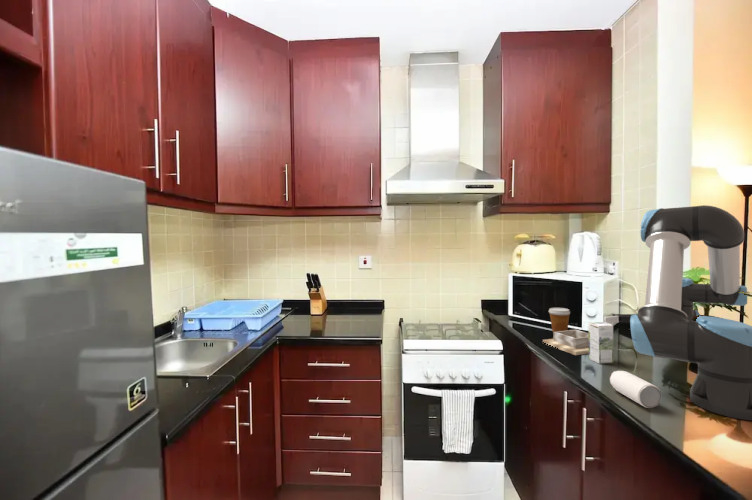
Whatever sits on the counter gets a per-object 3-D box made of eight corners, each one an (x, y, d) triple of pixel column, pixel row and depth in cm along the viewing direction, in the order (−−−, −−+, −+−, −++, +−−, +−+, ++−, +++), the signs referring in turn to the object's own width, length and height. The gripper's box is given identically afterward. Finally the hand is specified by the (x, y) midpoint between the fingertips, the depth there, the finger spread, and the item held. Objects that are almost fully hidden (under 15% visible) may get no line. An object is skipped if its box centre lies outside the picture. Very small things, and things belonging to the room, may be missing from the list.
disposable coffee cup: (550, 335, 164) (550, 310, 164) (547, 330, 173) (546, 307, 173) (573, 336, 161) (572, 311, 161) (568, 331, 170) (567, 307, 170)
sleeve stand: (611, 350, 139) (611, 337, 139) (575, 355, 135) (575, 341, 135) (575, 339, 156) (575, 327, 156) (542, 343, 152) (542, 331, 152)
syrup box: (602, 358, 130) (601, 320, 130) (614, 363, 124) (613, 324, 124) (588, 359, 130) (587, 321, 130) (599, 364, 124) (598, 325, 124)
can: (642, 382, 91) (611, 366, 103) (636, 405, 91) (605, 387, 103) (665, 388, 91) (631, 371, 103) (659, 411, 91) (626, 392, 103)
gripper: (699, 336, 123) (655, 343, 118) (632, 321, 147) (593, 326, 142) (699, 315, 123) (654, 321, 118) (632, 304, 147) (592, 308, 142)
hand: (620, 324), depth 130 cm, fingers open, 13 cm apart
